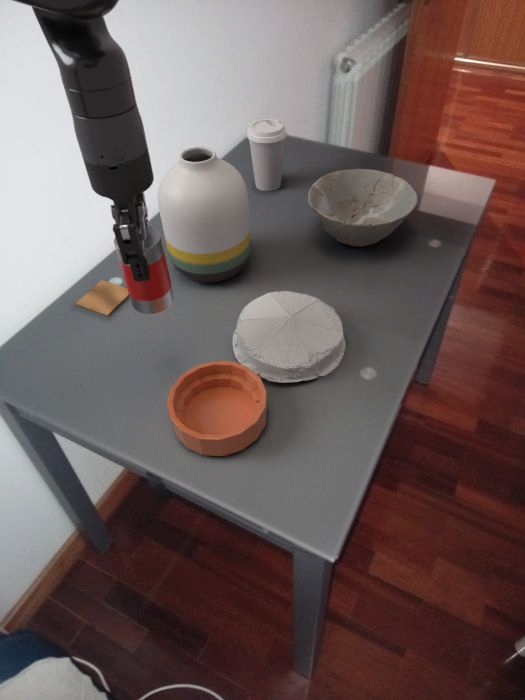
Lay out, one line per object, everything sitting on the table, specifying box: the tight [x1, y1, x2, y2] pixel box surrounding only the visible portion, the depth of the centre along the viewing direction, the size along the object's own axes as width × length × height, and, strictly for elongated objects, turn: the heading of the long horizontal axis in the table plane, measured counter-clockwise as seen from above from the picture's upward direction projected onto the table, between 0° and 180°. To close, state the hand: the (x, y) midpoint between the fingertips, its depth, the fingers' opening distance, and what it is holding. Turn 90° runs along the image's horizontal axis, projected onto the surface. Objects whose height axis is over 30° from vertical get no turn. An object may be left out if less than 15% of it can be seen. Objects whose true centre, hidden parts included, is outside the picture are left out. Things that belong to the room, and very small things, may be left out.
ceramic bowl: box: [307, 168, 418, 247], centre depth 106 cm, size 22×23×10 cm
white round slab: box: [232, 290, 346, 384], centre depth 85 cm, size 20×20×7 cm
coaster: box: [75, 279, 130, 317], centre depth 97 cm, size 8×8×1 cm
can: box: [113, 224, 175, 315], centre depth 70 cm, size 6×6×11 cm
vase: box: [157, 145, 252, 283], centre depth 95 cm, size 17×17×24 cm
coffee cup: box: [246, 118, 288, 192], centre depth 120 cm, size 10×10×15 cm
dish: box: [166, 360, 268, 457], centre depth 75 cm, size 15×15×5 cm
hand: (143, 263), depth 69 cm, fingers closed on can, 6 cm apart
